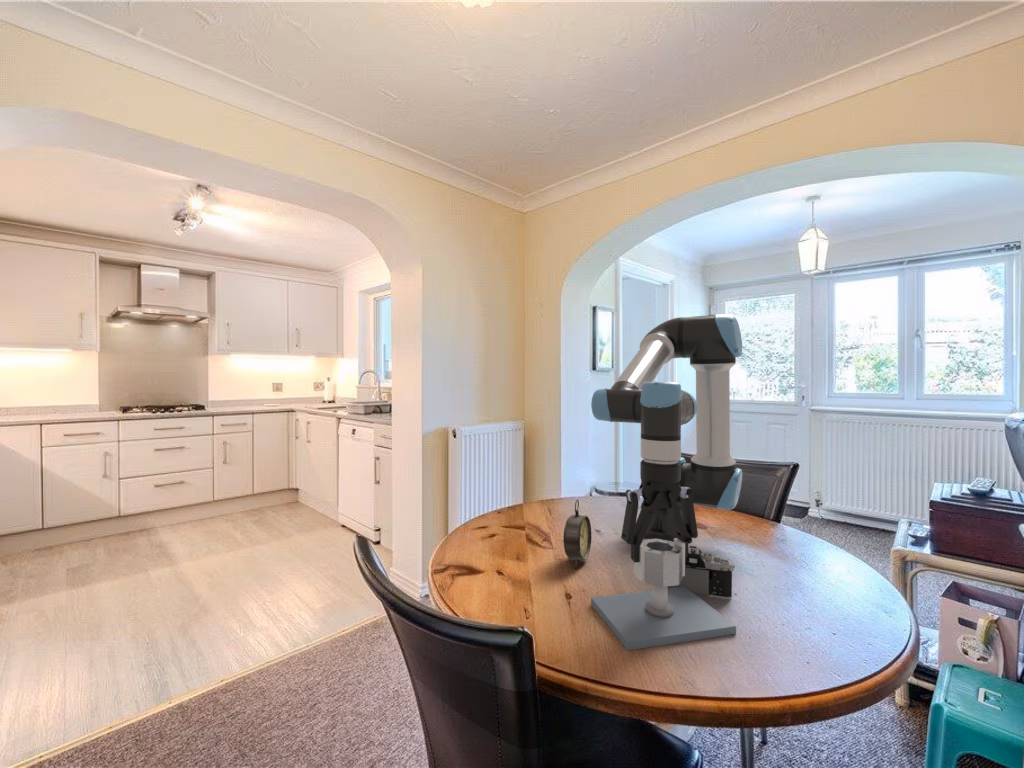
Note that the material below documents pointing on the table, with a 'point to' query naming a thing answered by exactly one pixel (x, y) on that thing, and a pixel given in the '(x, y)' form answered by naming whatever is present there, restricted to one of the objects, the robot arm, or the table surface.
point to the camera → (707, 574)
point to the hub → (663, 562)
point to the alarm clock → (577, 537)
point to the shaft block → (660, 617)
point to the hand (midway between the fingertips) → (659, 575)
